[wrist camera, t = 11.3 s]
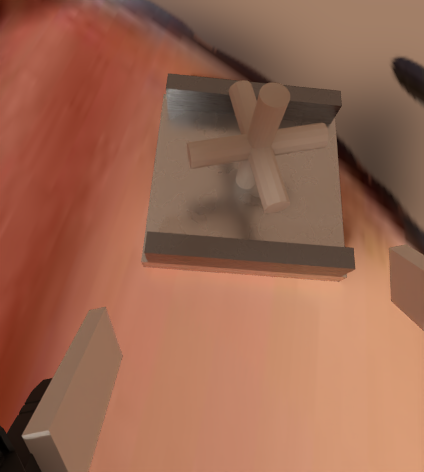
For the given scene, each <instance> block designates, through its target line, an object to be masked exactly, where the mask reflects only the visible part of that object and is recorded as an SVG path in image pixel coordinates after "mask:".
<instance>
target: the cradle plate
mask: <svg viewBox="0 0 424 472" xmlns="http://www.w3.org/2000/svg"><path fill="white" fill-rule="evenodd" d="M235 82H238V81H237V80H227V79H218V78H208V77H198V76H188V75H178V74H168V78H167V85H166V94H164V97H163V105H162V112H161V120H160V127H159V134H158V142H157V149H156V157H155V164H154V172H153V179H152V186H151V194H150V201H149V209H148V216H147V224H146V231H145V238H144V246H143V253H142V261H141V262H142V264H143V267H153V268H166V269H179V270H192V271H205V272H218V273H232V274H245V275H258V276H271V277H284V278H297V279H310V280H324V281H337V282H339V281H341V280H343V279H345V278H347V273H349V272H351V271H353V270H355V260H354V248H349V247H345V245H344V232H343V218H342V205H341V191H340V178H339V164H338V151H337V137H336V124H335V116H336V114H337V113H338V111H339V109H340V108H341V106H342V104H341V92H340V91H336V90H326V89H316V88H305V87H296V86H286V85H283V86H285V87H286V88H287V89H288V91H289V92H290V101H289V103H288V106H287V108H286V111H285V113H284V116H283V118H282V121H281V123H280V126H279V128H278V129H282V128H289V127H295V126H302V125H309V124H316V123H325V125H326V126H327V128H328V132H329V141H328V144H327V146H326V147H325V148H321V149H315V150H308V151H302V152H296V153H289V154H283V155H277V156H275V158H276V161H277V164H278V167H279V170H280V173H281V176H282V179H283V182H284V185H285V188H286V191H287V194H288V198H289V201H290V206H289V207H287V208H286V209H284V210H282V211H280V212H276V213H269V214H268V213H265V212H264V209H263V206H262V203H261V199H260V196H259V193H258V189H257V186H256V185H255V186H254V187H253V188H251V189H243V188H241V187H239V186H238V185H237V183H236V175H237V171H238V168H239V164H240V161H239V162H233V163H227V164H221V165H214V166H208V167H202V168H196V169H191V168H190V165H189V161H188V156H187V146H186V145H187V143H188V142H194V141H201V140H208V139H215V138H221V137H228V136H235V135H241V132H240V129H239V126H238V122H237V119H236V116H235V112H234V109H233V106H232V102H231V99H230V95H229V89H230V87H231V86H232V85H233V84H234V83H235ZM250 83H251V85H252V88H253V91H254V94H255V97H256V100H257V99H258V95H259V92H260V89H261V87H262V86H263V85H265V84H267V83H257V82H250Z"/></svg>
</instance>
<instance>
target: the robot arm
mask: <svg viewBox="0 0 424 472" xmlns="http://www.w3.org/2000/svg"><path fill="white" fill-rule="evenodd" d="M389 260H390V287H391V301H392V302H393V303H394V304H395V305H396V306H397V307H398V308H399V309H400V310H402V311H403V312H404V313H405V314H406V315H407V316H408V317H409V318H410V319H411V320H412V321H414V322H415V323H416V324H417V325H418V326H419V327H420V328H421V329H422V330H423V331H424V255H423V254H421V253H419V252H418V251H416V250H414V249H413V248H411V247H409V246H408V245H401V246H396V247H391V248H389ZM122 357H123V355H122V352H121V349H120V347H119V344H118V341H117V338H116V335H115V332H114V329H113V326H112V324H111V321H110V318H109V315H108V312H107V309H106V307H102V308H97V309H93V310H89V312H88V314H87V315H86V317H85V319H84V321H83V323H82V325H81V327H80V328H79V330H78V332H77V334H76V336H75V338H74V340H73V341H72V343H71V345H70V347H69V349H68V351H67V353H66V354H65V356H64V358H63V360H62V362H61V364H60V365H59V367H58V369H57V371H56V373H55V375H54V377H53V378H50V379H45V380H43V381H42V382H41V383H40V384H39V385H38V386H37V387H36V388H35V389H34V390H33V391H32V392H31V394H30V395H29V397H28V399H27V400H26V402H25V405H23V407H22V409H21V410H20V412H19V415H18V416H17V417H16V419H15V421H14V422H13V424H12V426H11V427H10V429H9V431H8V432H7V434H6V432H5V430H4V429H3V428H2V427H1V426H0V472H89V468H90V465H91V462H92V458H93V455H94V451H95V448H96V445H97V441H98V438H99V434H100V431H101V428H102V424H103V421H104V418H105V414H106V411H107V407H108V404H109V401H110V397H111V394H112V390H113V387H114V384H115V380H116V377H117V374H118V370H119V367H120V363H121V360H122Z"/></svg>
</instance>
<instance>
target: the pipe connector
mask: <svg viewBox="0 0 424 472" xmlns="http://www.w3.org/2000/svg"><path fill="white" fill-rule="evenodd" d="M229 95H230V99H231V102H232V106H233V109H234V112H235V116H236V119H237V122H238V126H239V129H240V132H241V135H235V136H228V137H221V138H215V139H208V140H201V141H194V142H188V143H187V145H186V146H187V156H188V161H189V165H190V168H191V169H196V168H202V167H208V166H214V165H221V164H227V163H233V162H239V161H240V164H239V168H238V171H237V175H236V183H237V185H238V186H239V187H241V188H243V189H251V188H253V187H254V186H255V185H256V186H257V189H258V193H259V196H260V199H261V203H262V206H263V209H264V212H265V213H268V214H269V213H276V212H280V211H282V210H284V209H286V208H287V207H289V206H290V201H289V198H288V194H287V191H286V188H285V185H284V182H283V179H282V176H281V173H280V170H279V167H278V164H277V161H276V158H275V156H277V155H283V154H289V153H296V152H302V151H308V150H315V149H321V148H325V147H326V146H327V144H328V141H329V132H328V128H327V126H326V125H325V123H316V124H309V125H302V126H295V127H289V128H282V129H278V128H279V126H280V123H281V121H282V118H283V116H284V113H285V111H286V108H287V106H288V103H289V101H290V92H289V91H288V89H287V88H286V87H285V86H283V85H282V84H279V83H275V82H271V83H267V84H265V85H263V86H262V87H261V89H260V92H259V95H258V99H257V100H256V97H255V94H254V91H253V88H252V85H251V83H250V82H249V81H246V80H241V81H238V82H235V83H234V84H233V85H232V86H231V87H230V89H229Z"/></svg>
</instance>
